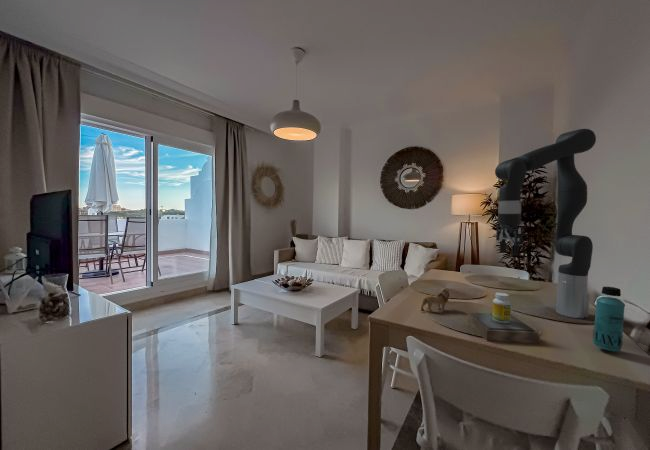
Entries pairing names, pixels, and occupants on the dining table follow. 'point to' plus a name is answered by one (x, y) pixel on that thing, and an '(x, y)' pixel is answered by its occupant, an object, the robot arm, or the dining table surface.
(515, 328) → the wooden framed mirror
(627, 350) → the dining table surface
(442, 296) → the lion figurine
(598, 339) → the beverage bottle
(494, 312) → the supplement bottle
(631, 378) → the dining table surface
